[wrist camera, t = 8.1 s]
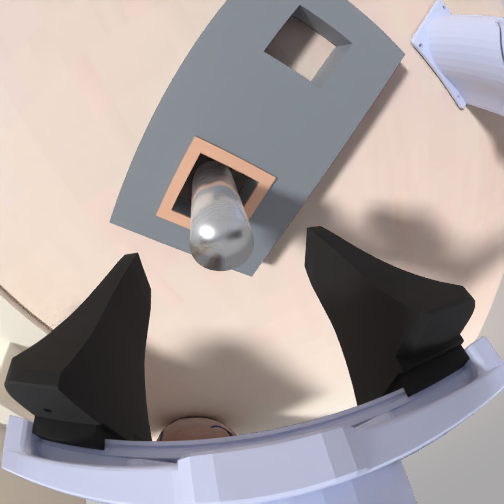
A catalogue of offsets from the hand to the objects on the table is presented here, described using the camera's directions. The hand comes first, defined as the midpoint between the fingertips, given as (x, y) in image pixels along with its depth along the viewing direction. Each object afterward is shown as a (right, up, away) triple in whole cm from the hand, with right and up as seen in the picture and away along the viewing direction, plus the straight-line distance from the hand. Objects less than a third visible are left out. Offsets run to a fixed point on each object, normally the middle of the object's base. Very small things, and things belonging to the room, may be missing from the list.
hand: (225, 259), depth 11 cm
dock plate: (+1, +10, +6) cm, 12 cm away
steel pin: (-2, +6, +9) cm, 10 cm away
